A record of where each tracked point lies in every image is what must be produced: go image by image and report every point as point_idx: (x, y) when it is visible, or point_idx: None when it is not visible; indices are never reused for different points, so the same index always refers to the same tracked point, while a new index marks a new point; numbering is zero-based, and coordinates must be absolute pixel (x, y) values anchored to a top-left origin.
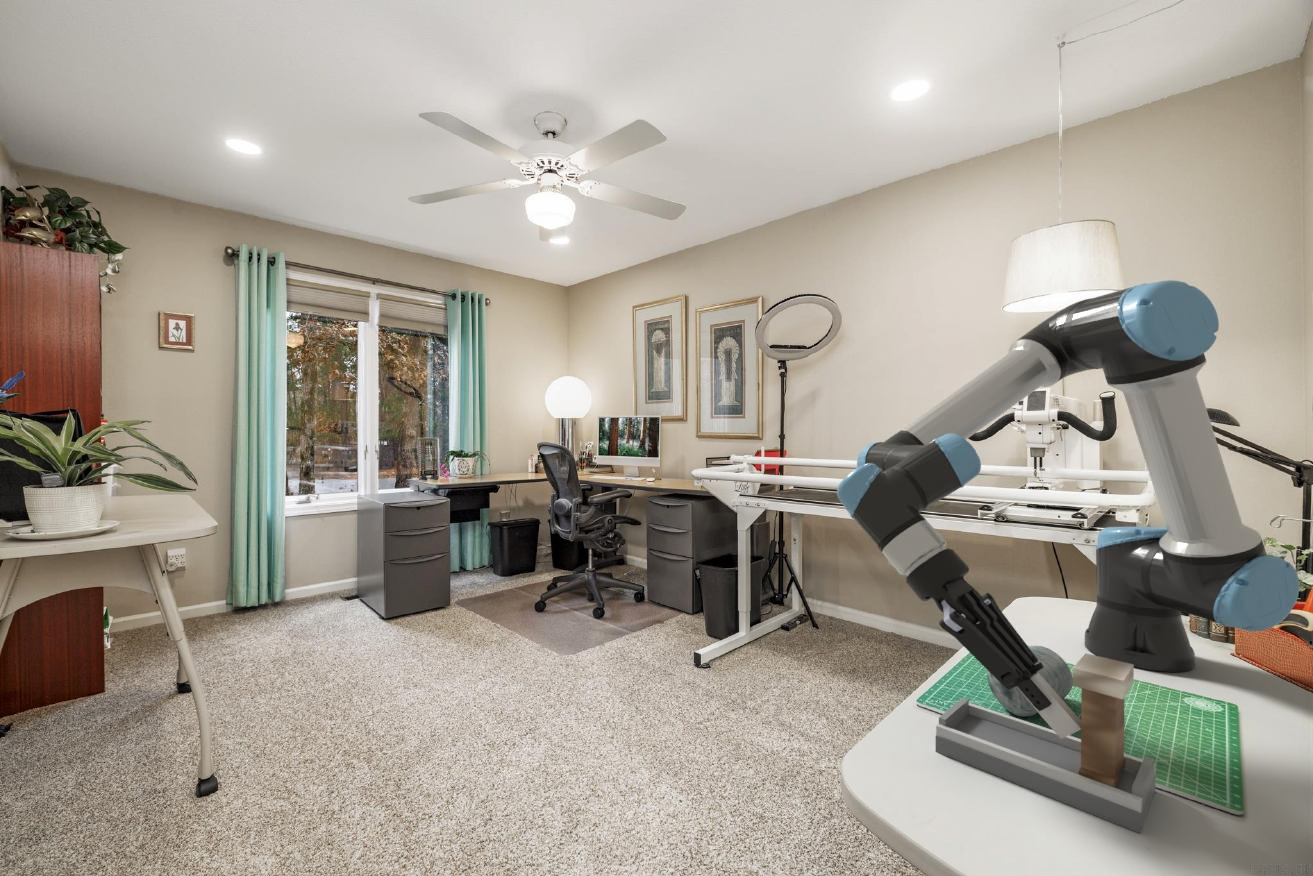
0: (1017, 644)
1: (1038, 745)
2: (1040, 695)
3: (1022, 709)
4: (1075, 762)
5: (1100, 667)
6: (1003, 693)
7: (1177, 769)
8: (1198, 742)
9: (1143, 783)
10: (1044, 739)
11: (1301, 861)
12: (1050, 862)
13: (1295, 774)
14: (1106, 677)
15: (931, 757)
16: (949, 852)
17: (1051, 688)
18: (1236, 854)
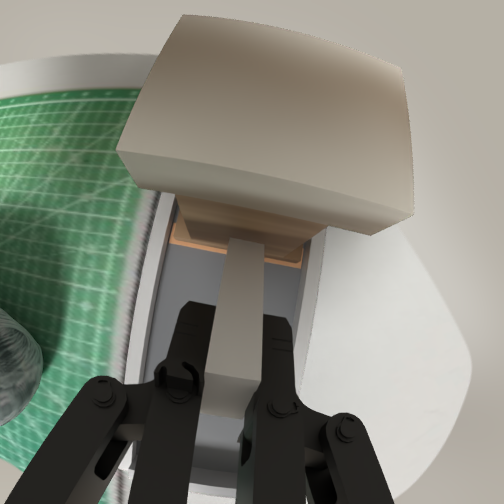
0: (88, 474)
1: None
2: (286, 346)
3: (40, 359)
4: (216, 269)
5: (315, 100)
6: (30, 396)
7: (93, 142)
8: (15, 127)
9: None
10: (151, 324)
11: None
12: (434, 291)
13: (61, 59)
14: (405, 107)
15: None
16: (464, 375)
17: (223, 318)
18: None
